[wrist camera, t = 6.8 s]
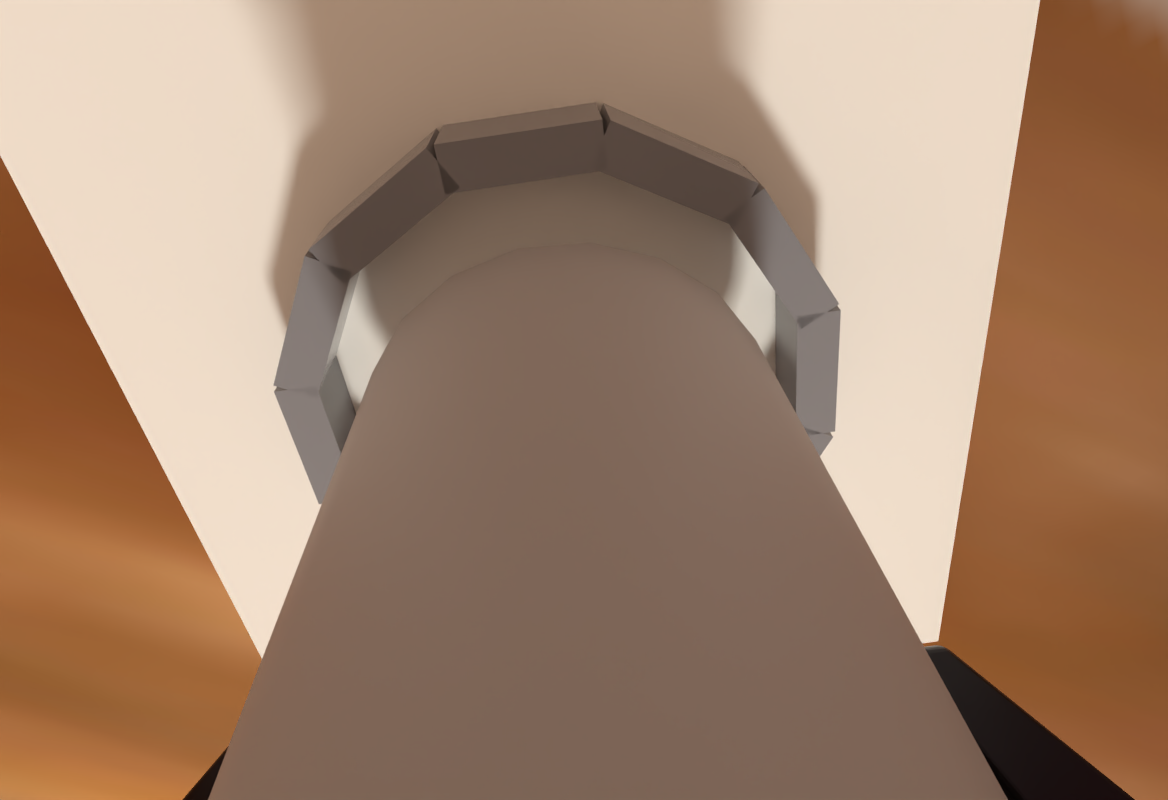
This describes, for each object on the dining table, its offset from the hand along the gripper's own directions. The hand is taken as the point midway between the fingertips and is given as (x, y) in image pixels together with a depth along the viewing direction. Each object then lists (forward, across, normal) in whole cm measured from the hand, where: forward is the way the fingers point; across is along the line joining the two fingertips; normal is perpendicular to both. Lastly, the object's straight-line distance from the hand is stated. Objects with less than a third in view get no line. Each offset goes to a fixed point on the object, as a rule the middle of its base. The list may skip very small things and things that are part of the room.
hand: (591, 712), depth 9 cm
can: (+7, 0, 0) cm, 7 cm away
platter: (+9, 0, 0) cm, 9 cm away
